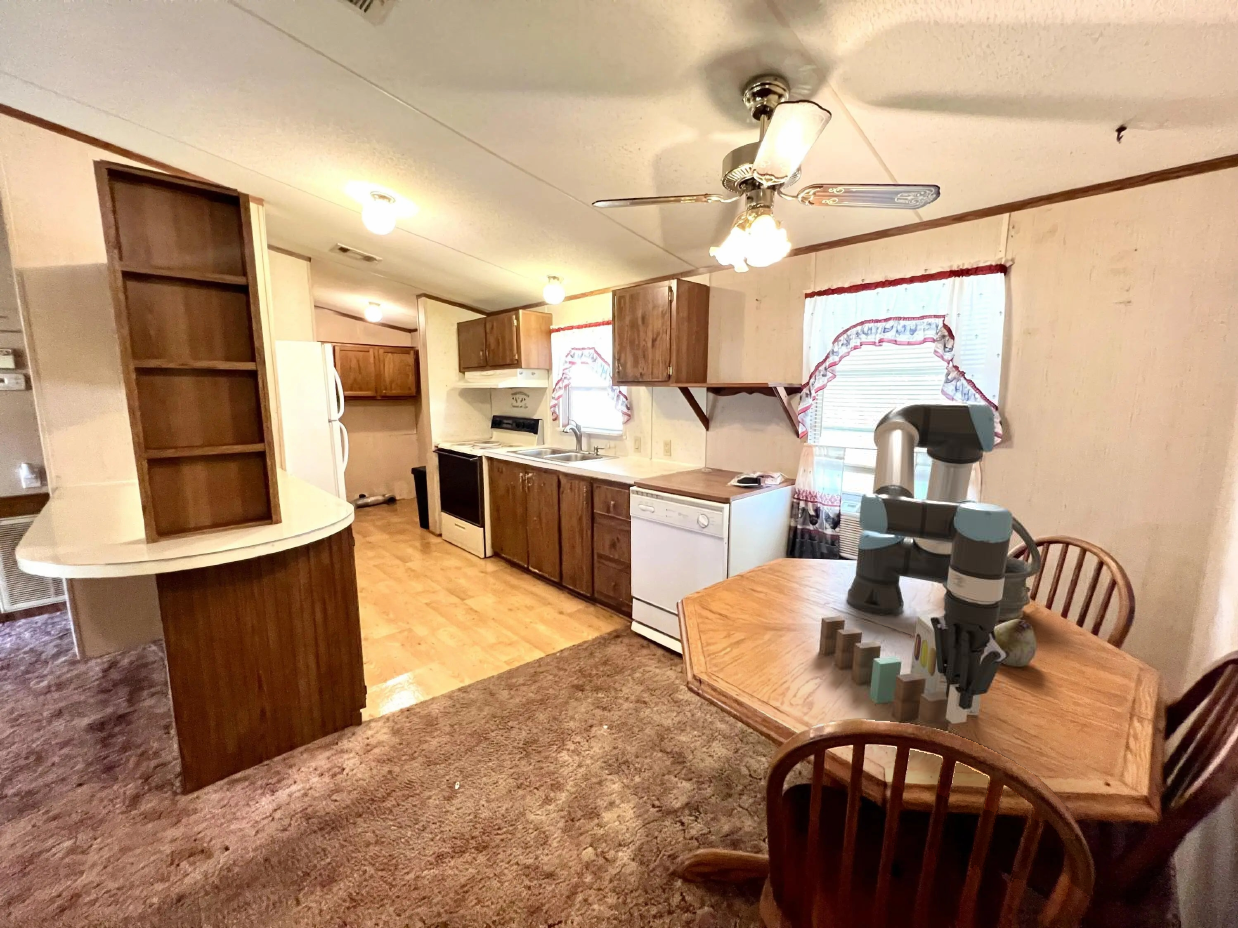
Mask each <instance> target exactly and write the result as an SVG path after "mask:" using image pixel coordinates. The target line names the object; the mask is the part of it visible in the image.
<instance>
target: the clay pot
mask: <svg viewBox="0 0 1238 928" xmlns="http://www.w3.org/2000/svg"><path fill="white" fill-rule="evenodd" d="M1012 529H1013V532H1014V533H1016V534H1017V535H1018V536H1019V537H1020V538H1021V539H1022V541H1023V542H1024V544H1025V545H1026V547H1027V549H1028V551H1029V553H1030V556H1031V562H1028V561H1025V560H1021V559H1019V558H1015V557H1012V556H1007V563H1006V569H1005V576H1004V577H1005V578H1004V586H1003V593H1002V599H1001V600H999V602H1000V604H1001V605H1000V612H999V619H998V621H1005V622H1008V621H1011V620H1015V619H1020V620H1021V618H1022V617H1023V615H1024V611H1023V609H1024V607H1025V606H1026V607H1027V606H1028V605H1030V603H1031V600H1030V597H1029V593H1030V592H1031V588H1030V587H1029V586H1027V579H1028V578H1030V577H1034V576H1035V575H1037V574H1038V573H1040V571H1041V569H1042V564H1043V563H1042V556H1041V553H1040V551H1039V549H1038V547H1037V544H1036V543H1035V541H1034V539H1033V538H1032V535H1031V534H1030V533H1029V532H1028V530H1027V529H1026V528H1025V526H1024V525H1023V523H1021V521H1019V519H1017V518H1016V517H1015V516H1013V519H1012ZM942 587H943V588H944V589H945V593H944V595H943V597H944V600H945V594H946V591H947V590H949V589H948V588H947V584H945V583H944V584H942Z"/></svg>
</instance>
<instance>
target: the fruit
mask: <svg viewBox="0 0 1238 928" xmlns="http://www.w3.org/2000/svg"><path fill="white" fill-rule="evenodd" d="M994 632H995V635H996V640H995V642H996V643H997V644H998V646H999V647H1000V648H1001V650H1007V651H1008V652H1009V654H1010V655H1009V657H1008V658H1007V659H1005V660H1004V661H1002V662H1001V664H1004V665H1006V666H1011V667H1015V668H1018V667H1025V666H1027V665H1029V664H1030V663H1031V662H1032V660H1033V659H1034V657H1035V655H1036V652H1037V650H1038V643H1037V639H1036V636H1035V633H1034V629H1033V627H1032V625H1031V624H1030V623H1028V621H1027V620H1023V619H1021V618H1020V619H1015V620H1011V621H1005V622H1001V623H1000V624H998V625H995V627H994Z"/></svg>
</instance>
